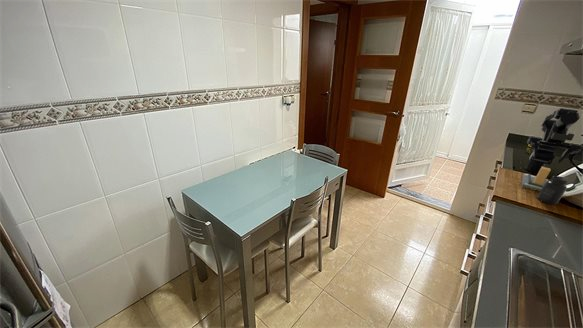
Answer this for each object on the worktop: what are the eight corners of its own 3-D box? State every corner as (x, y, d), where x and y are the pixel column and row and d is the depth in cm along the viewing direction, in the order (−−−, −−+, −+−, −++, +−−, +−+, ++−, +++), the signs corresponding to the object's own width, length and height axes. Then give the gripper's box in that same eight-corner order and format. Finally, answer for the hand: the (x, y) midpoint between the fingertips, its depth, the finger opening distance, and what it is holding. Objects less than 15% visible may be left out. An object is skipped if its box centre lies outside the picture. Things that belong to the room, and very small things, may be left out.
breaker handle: (530, 181, 121) (539, 165, 116) (542, 185, 118) (552, 168, 114) (530, 184, 118) (540, 168, 114) (542, 187, 116) (552, 171, 111)
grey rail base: (522, 175, 130) (524, 171, 129) (547, 182, 124) (549, 178, 123) (521, 186, 119) (524, 182, 118) (549, 194, 113) (552, 189, 112)
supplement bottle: (561, 206, 105) (576, 183, 99) (543, 203, 106) (557, 181, 101) (549, 197, 111) (563, 175, 106) (532, 195, 112) (545, 173, 107)
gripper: (538, 121, 119) (526, 150, 119) (593, 130, 108) (580, 161, 107) (532, 129, 128) (520, 156, 127) (582, 138, 117) (570, 167, 116)
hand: (546, 159), depth 119 cm, fingers open, 9 cm apart
